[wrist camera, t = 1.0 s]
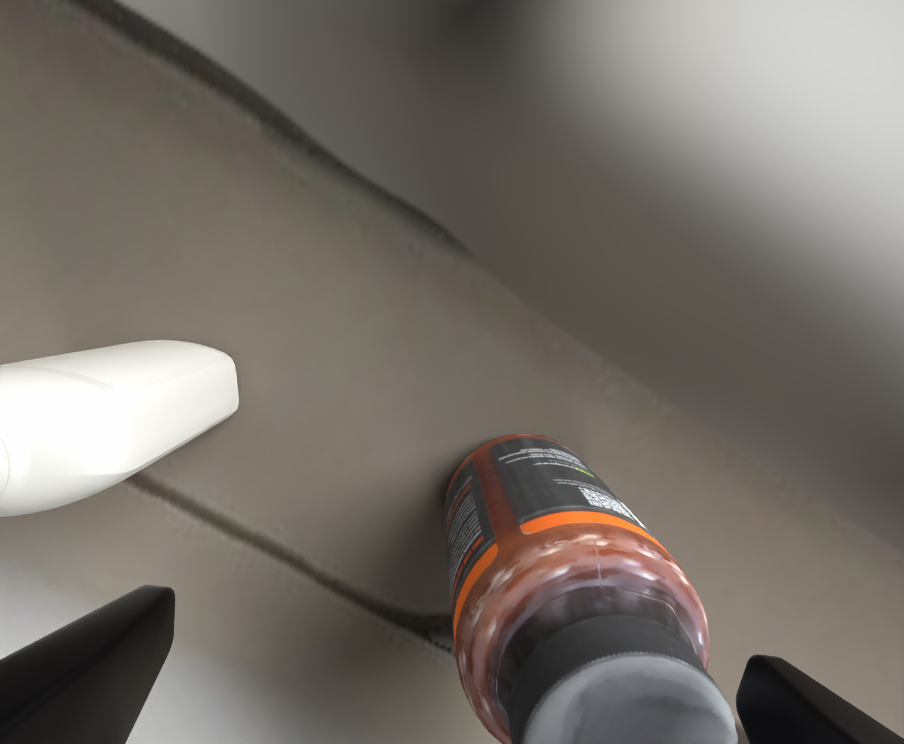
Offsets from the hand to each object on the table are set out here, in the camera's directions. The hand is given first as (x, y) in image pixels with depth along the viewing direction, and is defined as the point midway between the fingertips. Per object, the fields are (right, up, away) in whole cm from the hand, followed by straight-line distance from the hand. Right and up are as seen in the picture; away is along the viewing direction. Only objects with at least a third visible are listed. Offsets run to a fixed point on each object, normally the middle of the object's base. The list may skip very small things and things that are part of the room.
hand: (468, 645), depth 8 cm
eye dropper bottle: (-11, +4, +11) cm, 16 cm away
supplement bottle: (+2, -1, +12) cm, 13 cm away
